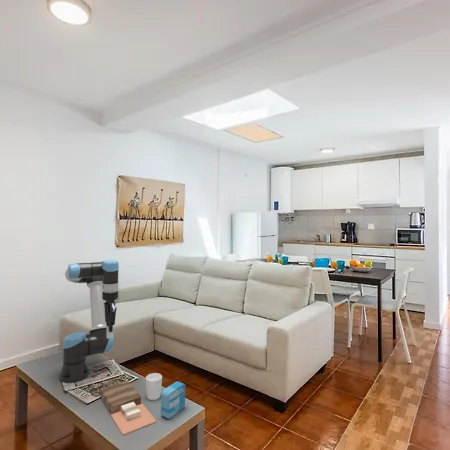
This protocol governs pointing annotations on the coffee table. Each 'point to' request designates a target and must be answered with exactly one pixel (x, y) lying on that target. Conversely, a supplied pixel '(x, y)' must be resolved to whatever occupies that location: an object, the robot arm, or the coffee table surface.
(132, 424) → the terracotta mat
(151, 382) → the white cup
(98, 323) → the robot arm
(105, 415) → the coffee table surface
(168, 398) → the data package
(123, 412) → the birch tile
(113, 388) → the block
